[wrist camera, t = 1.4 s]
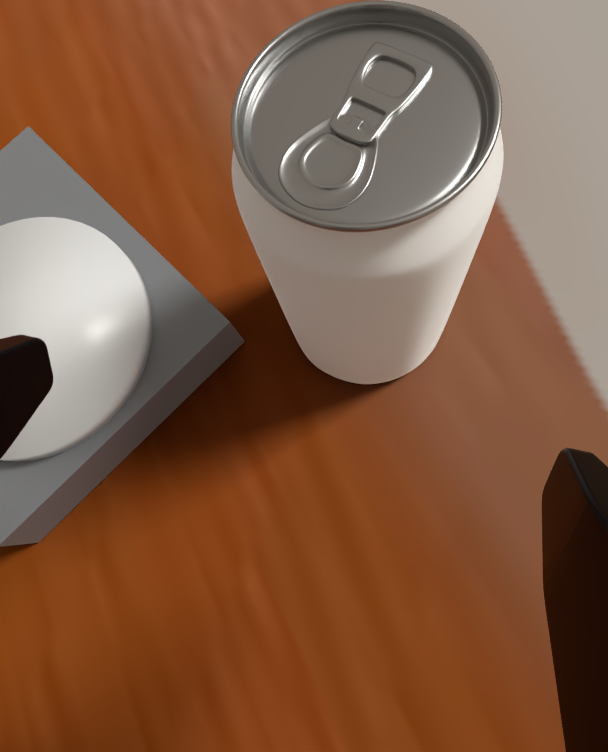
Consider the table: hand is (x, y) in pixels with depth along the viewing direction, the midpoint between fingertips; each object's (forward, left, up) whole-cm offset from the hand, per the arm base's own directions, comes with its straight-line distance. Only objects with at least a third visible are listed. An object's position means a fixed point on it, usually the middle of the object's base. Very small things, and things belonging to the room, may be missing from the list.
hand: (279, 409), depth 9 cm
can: (+3, -6, -13) cm, 14 cm away
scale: (+13, +5, -13) cm, 19 cm away
